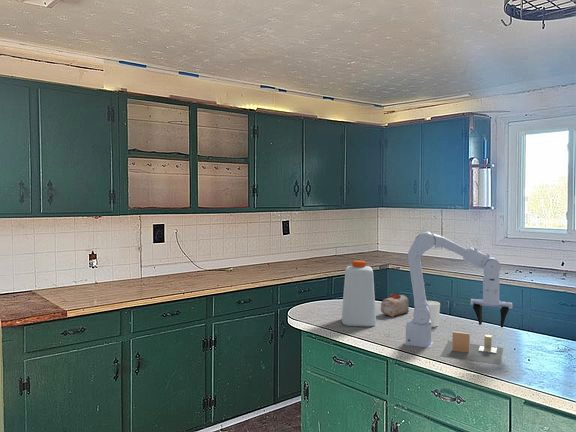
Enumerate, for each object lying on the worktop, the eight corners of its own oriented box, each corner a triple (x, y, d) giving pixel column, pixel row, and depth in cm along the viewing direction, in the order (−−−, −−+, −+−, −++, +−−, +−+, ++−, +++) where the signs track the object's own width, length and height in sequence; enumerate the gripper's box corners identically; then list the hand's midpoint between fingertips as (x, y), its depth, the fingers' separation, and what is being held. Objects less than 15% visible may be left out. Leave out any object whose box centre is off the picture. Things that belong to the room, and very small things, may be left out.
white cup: (427, 328, 221) (427, 305, 220) (417, 323, 229) (418, 301, 228) (443, 326, 223) (443, 304, 223) (433, 322, 231) (433, 300, 230)
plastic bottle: (374, 318, 237) (374, 258, 235) (376, 327, 222) (377, 264, 220) (341, 317, 238) (342, 258, 237) (341, 326, 223) (342, 263, 222)
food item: (392, 318, 237) (393, 297, 237) (379, 315, 244) (379, 294, 243) (410, 313, 246) (410, 293, 246) (396, 310, 252) (397, 290, 252)
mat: (440, 357, 183) (440, 356, 183) (448, 342, 201) (448, 340, 201) (500, 366, 175) (500, 364, 175) (503, 349, 193) (503, 347, 193)
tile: (452, 350, 189) (452, 332, 189) (452, 349, 191) (453, 331, 190) (469, 352, 187) (469, 334, 186) (469, 351, 188) (469, 333, 188)
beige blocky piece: (478, 351, 188) (478, 337, 188) (480, 347, 193) (480, 332, 193) (496, 354, 185) (496, 339, 185) (497, 349, 191) (497, 334, 190)
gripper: (513, 289, 189) (513, 325, 190) (473, 286, 197) (473, 320, 198) (510, 292, 183) (510, 330, 184) (469, 289, 191) (469, 324, 192)
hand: (491, 325), depth 191 cm, fingers open, 7 cm apart
